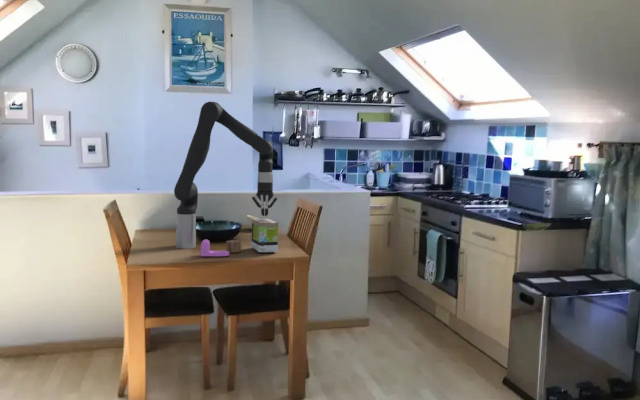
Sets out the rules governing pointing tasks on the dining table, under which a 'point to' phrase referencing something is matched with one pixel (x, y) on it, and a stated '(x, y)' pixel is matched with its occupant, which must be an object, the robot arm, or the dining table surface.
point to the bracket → (206, 251)
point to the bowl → (251, 220)
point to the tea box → (264, 235)
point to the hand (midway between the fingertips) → (264, 215)
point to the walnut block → (233, 246)
